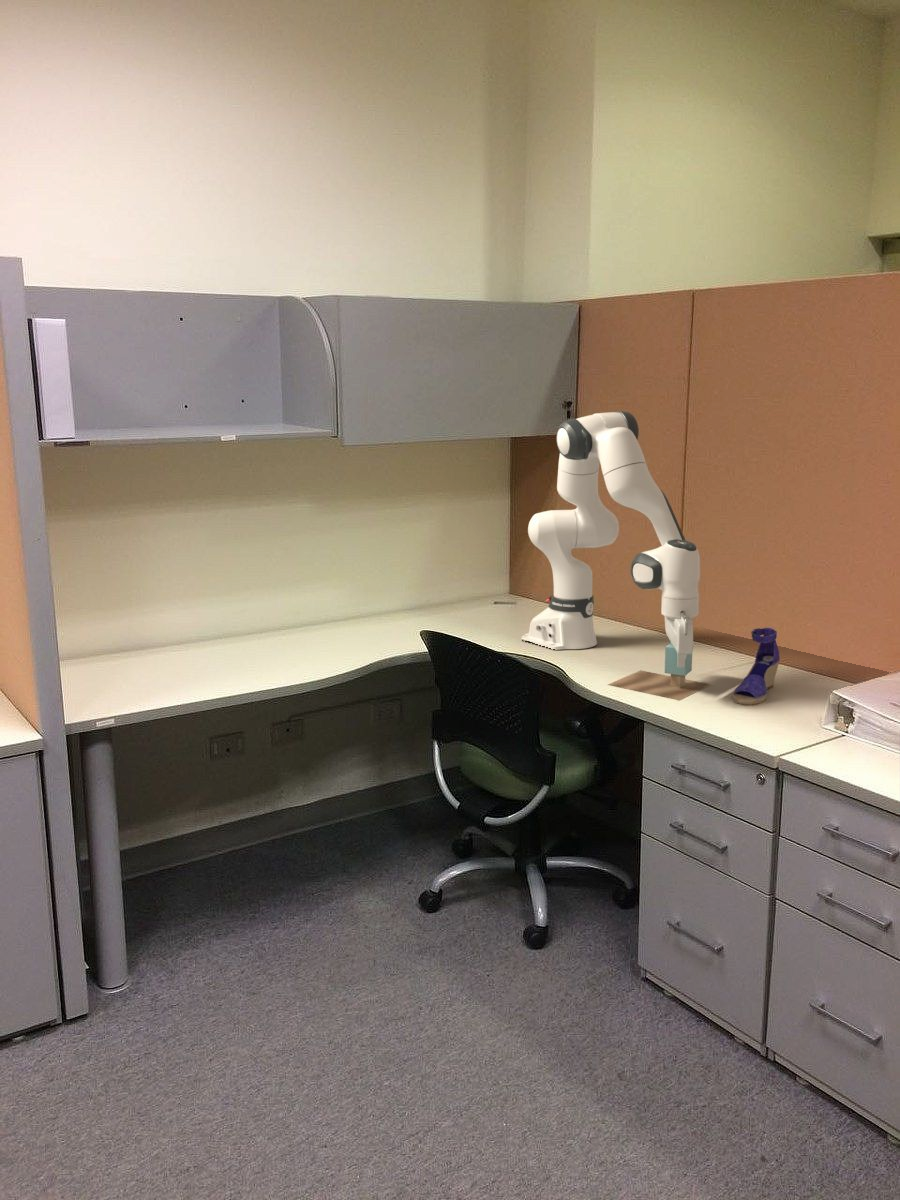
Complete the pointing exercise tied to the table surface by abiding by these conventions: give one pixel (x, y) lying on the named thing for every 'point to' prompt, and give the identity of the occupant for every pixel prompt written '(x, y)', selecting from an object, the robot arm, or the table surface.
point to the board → (658, 685)
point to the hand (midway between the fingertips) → (678, 662)
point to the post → (677, 680)
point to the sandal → (760, 669)
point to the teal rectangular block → (672, 662)
